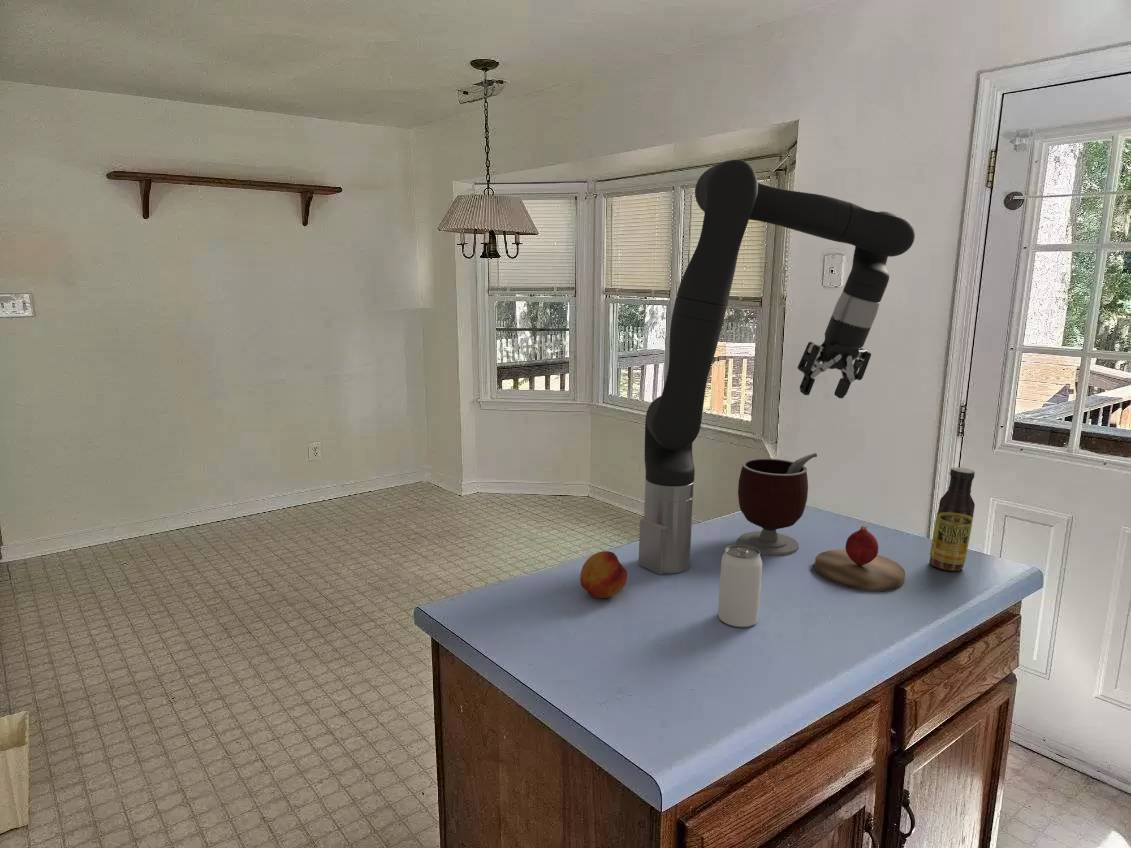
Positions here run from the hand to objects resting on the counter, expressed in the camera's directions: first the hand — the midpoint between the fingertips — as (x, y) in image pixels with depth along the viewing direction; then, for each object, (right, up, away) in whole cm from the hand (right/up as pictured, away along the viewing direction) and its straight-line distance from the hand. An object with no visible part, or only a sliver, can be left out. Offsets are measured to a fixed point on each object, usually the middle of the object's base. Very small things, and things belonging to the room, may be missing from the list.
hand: (821, 395), depth 145 cm
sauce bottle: (+24, -34, -3) cm, 42 cm away
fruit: (-45, -36, -18) cm, 60 cm away
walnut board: (+5, -34, -6) cm, 35 cm away
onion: (+5, -33, -7) cm, 34 cm away
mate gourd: (-8, -31, +8) cm, 33 cm away
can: (-23, -38, -26) cm, 51 cm away
